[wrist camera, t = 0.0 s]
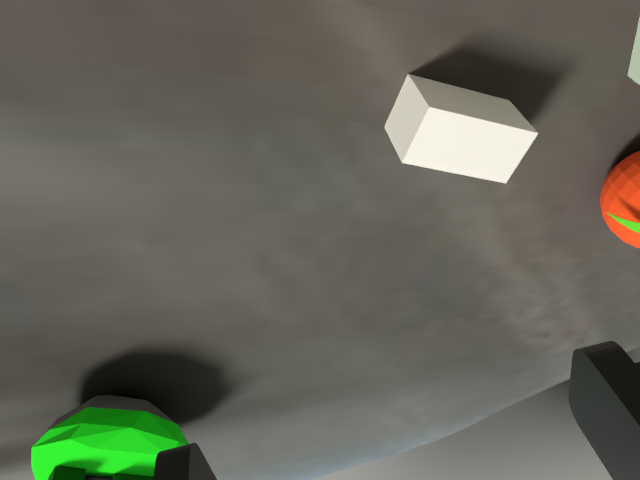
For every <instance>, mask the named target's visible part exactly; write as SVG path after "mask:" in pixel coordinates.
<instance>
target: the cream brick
mask: <svg viewBox="0 0 640 480" xmlns="http://www.w3.org/2000/svg"><path fill="white" fill-rule="evenodd" d="M385 130H386V132H387V134H388V136H389V138H390V140H391V142H392V144H393V146H394V148H395V150H396V152H397V154H398V156H399V158H400V160H401V162H402V163H406V164H411V165H416V166H421V167H426V168H431V169H436V170H441V171H446V172H451V173H456V174H461V175H466V176H471V177H476V178H481V179H486V180H491V181H496V182H501V183H506V182H507V181H508V179H509V178H510V176H511V175H512V173H513V172H514V170H515V169H516V167H517V165H518V164H519V162H520V161H521V159H522V158H523V156H524V155H525V153H526V152H527V150H528V148H529V147H530V145H531V144H532V142H533V141H534V139H535V138H536V136H537V134H538V132H537V131H536V130H535V129H534V128H533V127H532V126H531V124H530V123H529V122H528V121H527V120H526V119H525V118H524V116H523V115H522V114H521V113H520V112H519V111H518V110H517V109H516V107H515V106H514V105H513V104H512V103H511V102H510V101H509V100H506V99H502V98H499V97H495V96H491V95H487V94H483V93H479V92H476V91H472V90H468V89H464V88H460V87H456V86H453V85H449V84H445V83H441V82H437V81H433V80H430V79H426V78H422V77H418V76H414V75H410V74H408V75H407V77H406V80H405V82H404V84H403V86H402V89H401V91H400V93H399V95H398V97H397V100H396V102H395V104H394V106H393V109H392V111H391V113H390V115H389V118H388V120H387V122H386V124H385Z"/></svg>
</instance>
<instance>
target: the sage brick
mask: <svg viewBox="0 0 640 480" xmlns="http://www.w3.org/2000/svg"><path fill="white" fill-rule="evenodd" d="M628 76H629V77H630V78H631V79H633V80H634V81H635V82H636V83H638V84H639V85H640V18H639V23H638V27H637V32H636V37H635V42H634V47H633V52H632V57H631V61H630V66H629V71H628Z"/></svg>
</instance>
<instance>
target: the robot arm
mask: <svg viewBox="0 0 640 480" xmlns="http://www.w3.org/2000/svg"><path fill="white" fill-rule="evenodd" d="M569 403H570V407H571V410H572V413H573V415H574V418H575V419H576V422H577V423H578V425H579V427H580V428H581V430H582V432H583V433H584V435H585V436H586V438H587V439H588V441H589V443H590V444H591V446H592V447H593V449H594V450H595V452H596V454H597V455H598V457H599V458H600V460H601V461H602V463H603V465H604V466H605V468H606V469H607V471H608V472H609V474H610V476H611V477H612V479H613V480H640V362H638V363H634V362H633V361H632V360H631V358H630V357H629V356H628V355H627V353H626V352H625V351H624V350H623V349H622V348H621V346H620V345H618V344H617V343H616V342H614V341H608V342H604V343H600V344H596V345H592V346H588V347H584V348H579V349H576V350H575V351H574V352H573V358H572V367H571V376H570V386H569ZM153 480H217V479H216V477H215V475H214V474H213V472H212V470H211V468H210V466H209V464H208V463H207V461H206V459H205V457H204V455H203V453H202V452H201V450H200V448H199V446H198V445H197V444H196V443H192V444H188V445H184V446H180V447H176V448H172V449H168V450H164V451H160V452H159V453H158V455H157V457H156V462H155V470H154V478H153Z"/></svg>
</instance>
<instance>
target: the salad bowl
mask: <svg viewBox="0 0 640 480" xmlns="http://www.w3.org/2000/svg"><path fill="white" fill-rule="evenodd" d="M184 445H188V442H187V440H186V438H185V437H184V435H183V433H182V431H181V430H180V428H179V426H178V424H177V423H175V422H174V421H173V420H172V419H170V418H169V417H168V416H167V415H165V414H164V413H163V412H162V411H160V410H159V409H158V408H157V407H155V406H154V405H153V404H152V403H150V402H149V401H146V400H142V399H135V398H128V397H122V396H115V395H97V396H95V397H94V398H92V399H90V400H89V401H87V402H85V403H84V404H82V405H80V406H79V407H77V408H75V409H74V410H72V411H70V412H69V413H67V414H65V415H64V416H62V417H60V418H59V419H57V420H56V421H55V422H54V423H53V424H52V426H51V427H50V428H49V429H48V430H47V431H46V432H45V433H44V434H43V436H42V437H41V438H40V439H39V440H38V441H37V442H36V443H35V444H34V446H33V447H32V456H31V466H32V470H33V473H34V477H35V480H153V478H154V470H155V462H156V457H157V455H158V453H159V452H160V451H164V450H168V449H172V448H176V447H180V446H184Z"/></svg>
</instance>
